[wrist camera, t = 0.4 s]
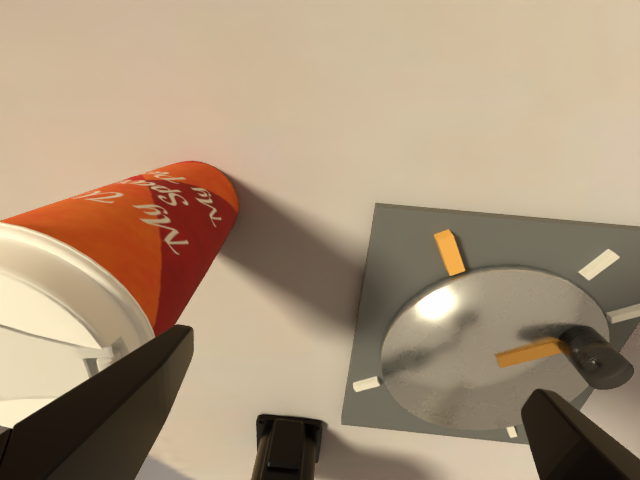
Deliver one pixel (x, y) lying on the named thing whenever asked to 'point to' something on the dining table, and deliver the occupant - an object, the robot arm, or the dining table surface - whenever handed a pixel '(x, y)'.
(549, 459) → the robot arm
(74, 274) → the paper cup
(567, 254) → the grey dial base plate
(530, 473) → the dining table surface
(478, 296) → the dial
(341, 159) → the dining table surface
